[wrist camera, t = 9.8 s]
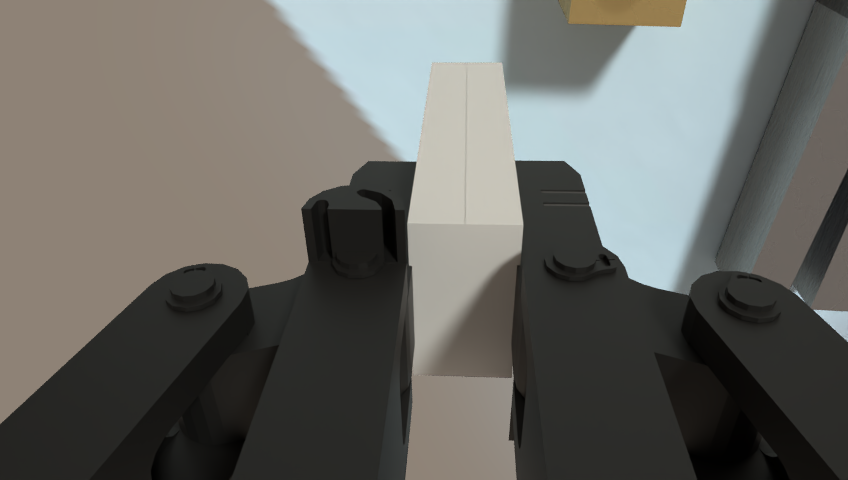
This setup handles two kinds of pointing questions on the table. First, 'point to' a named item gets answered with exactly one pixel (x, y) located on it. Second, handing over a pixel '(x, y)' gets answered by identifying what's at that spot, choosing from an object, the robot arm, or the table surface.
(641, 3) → the block
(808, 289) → the base
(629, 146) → the table surface
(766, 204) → the tong arm
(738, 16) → the table surface
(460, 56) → the table surface
